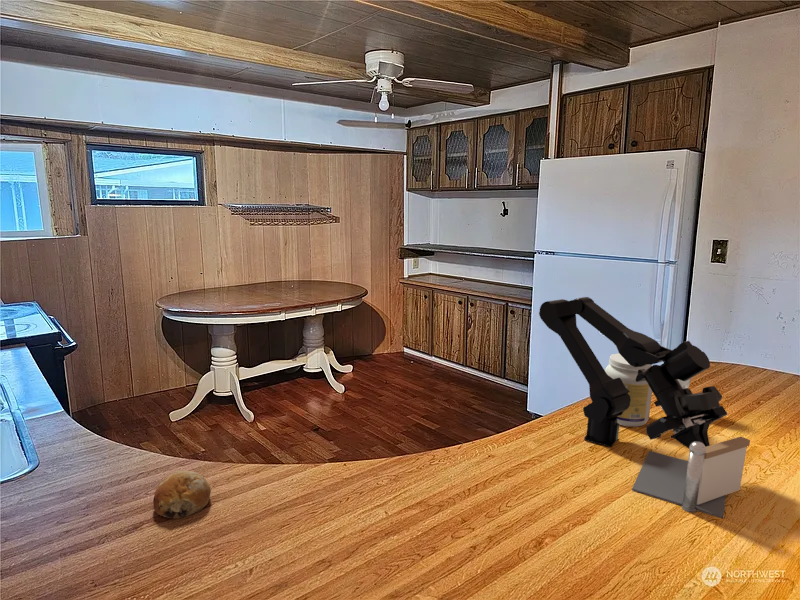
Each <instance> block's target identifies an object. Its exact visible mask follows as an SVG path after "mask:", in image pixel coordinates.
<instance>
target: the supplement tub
mask: <svg viewBox="0 0 800 600" xmlns="http://www.w3.org/2000/svg"><path fill="white" fill-rule="evenodd" d="M651 366H653V364H652V365H650V364H649V365H645V366H642V367H633V366H631V365H630V364H629V363H628V362H627V361H626V360H625V359H624V358H623V357H622V356H621V355H620V354H619V352H618V353H612V354H610V356H609V359H608V365H607V366H606V367H605V369H604V370H605V372H606V373H607V375H608V376H610V377H611V378H613V379H616V378H620V379H621V380H622V382H623V384H624V386H625V387H626V388H627V389H628V390H629V391H630V392H629V393H628V394H629V396H630V398H631V401H630V406H629V408H628V409H627V410H625V411H624V412H623V413H622V415H620V416H617V417H618V420H617V423H619V424H620V425H619V426H624V427H632V428H633V427H635V428H636V427H641V426H644V425H645V424H647V423H648V422H649V419H650V412H651V405H652V404H651V403H652V397H653V392H652V390H651V388H650V387H649V385H648V383H647V381H640V382H636V376H637V374H638V370H640V369H645V370H646V369H648V368H649V367H651Z"/></svg>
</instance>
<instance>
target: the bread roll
mask: <svg viewBox="0 0 800 600" xmlns="http://www.w3.org/2000/svg"><path fill="white" fill-rule="evenodd" d="M211 489H212V488H211V487H210V484H209V481H208V480H207V479H205V477H204V476H203V475H201V474H199V473H198V472H196V471H192V470H177V471H176V470H175V471H174V472H173V473H172V474H171V475H168V477H166V478H165V479H164V480H163V481H162V482H160V483H159V485H157V488H156V489H155V492H154V495H153V500H152V501H153V502H152V503H153V510H154V512H155V513H156V514H157V515H158V516H159V515H160V516H159V517H161V516H163V517H162V518H165V517H168V518H167V519H169V518H170V519H172V518H177V519H180V517H183V518H184V516H185V517H188V516H191V515H194V514H195V513H197V512H199V511H200V512H201V510H203V509H204V508H205V507H206V506H207V505H208V503H209V501H210V497H211V493H212V492H211V491H212V490H211Z"/></svg>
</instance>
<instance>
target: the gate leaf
mask: <svg viewBox="0 0 800 600" xmlns="http://www.w3.org/2000/svg"><path fill="white" fill-rule="evenodd" d="M750 442H751V440H750V439H748V438H747V437H743V436H738V437H734V438H730V439H728V440H724V441H720V442H718V443H714V444H711V445H710V446H706V453H705V454H704V459H703V466H702V473H701V479H700V486H699V493H698V499H697V505H699V504H702V503H704V502H707V501H710V500H713V499H715V498H718V497H721V496H724V495H726V496H727V495H729V494H732V493H735V492H738V491H740V489H741V485H742V479H743V478H742V477H743V473H744V466H745V461H746V453H747V448H748V447H749V446H750Z"/></svg>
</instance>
